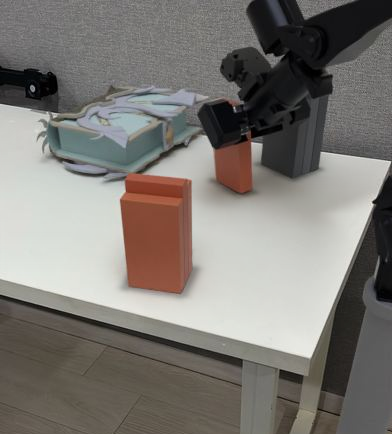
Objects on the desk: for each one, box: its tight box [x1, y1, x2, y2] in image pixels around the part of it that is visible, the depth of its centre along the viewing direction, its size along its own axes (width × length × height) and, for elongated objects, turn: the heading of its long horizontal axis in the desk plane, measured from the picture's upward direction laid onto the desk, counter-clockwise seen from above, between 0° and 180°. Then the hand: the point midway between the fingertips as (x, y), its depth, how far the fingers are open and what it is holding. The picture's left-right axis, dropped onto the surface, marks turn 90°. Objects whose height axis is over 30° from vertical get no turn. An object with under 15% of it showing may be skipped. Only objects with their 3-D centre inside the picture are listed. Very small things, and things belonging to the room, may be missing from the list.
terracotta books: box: [119, 173, 193, 295], centre depth 69 cm, size 7×6×14 cm
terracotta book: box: [209, 97, 253, 194], centre depth 90 cm, size 7×2×13 cm, turn 34°
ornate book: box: [35, 84, 209, 179], centre depth 103 cm, size 23×10×30 cm
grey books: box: [260, 93, 330, 179], centre depth 95 cm, size 8×6×14 cm
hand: (228, 141), depth 90 cm, fingers closed on terracotta book, 3 cm apart
